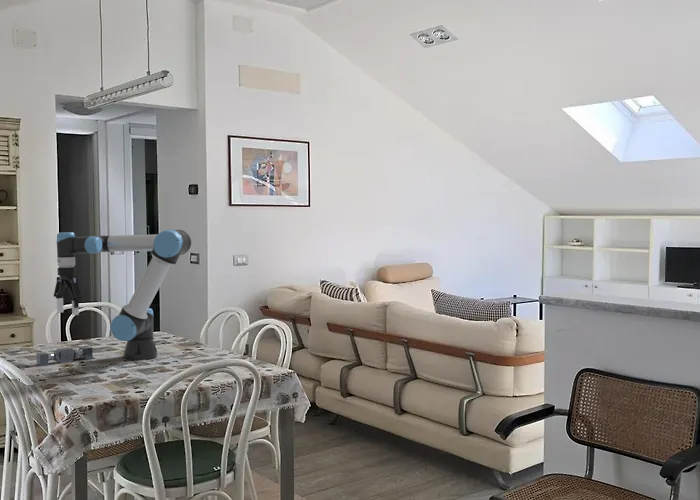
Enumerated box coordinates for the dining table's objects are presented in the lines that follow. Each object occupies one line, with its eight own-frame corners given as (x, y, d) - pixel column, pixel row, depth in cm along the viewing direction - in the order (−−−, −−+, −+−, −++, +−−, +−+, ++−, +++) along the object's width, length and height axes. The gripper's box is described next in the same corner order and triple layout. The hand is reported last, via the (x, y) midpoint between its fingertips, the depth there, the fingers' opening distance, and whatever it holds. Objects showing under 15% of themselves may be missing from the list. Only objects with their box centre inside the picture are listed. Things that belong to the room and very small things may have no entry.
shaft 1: (54, 362, 321) (54, 350, 321) (58, 363, 317) (58, 352, 317) (36, 364, 316) (36, 352, 316) (40, 366, 312) (39, 354, 312)
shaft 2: (85, 357, 333) (85, 346, 332) (92, 358, 330) (92, 347, 330) (70, 359, 326) (70, 348, 326) (77, 361, 323) (77, 350, 323)
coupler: (60, 363, 318) (60, 349, 318) (56, 362, 321) (56, 348, 321) (72, 361, 322) (72, 348, 322) (68, 360, 325) (68, 347, 325)
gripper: (44, 266, 328) (46, 312, 329) (72, 268, 312) (74, 316, 313) (60, 265, 334) (61, 310, 335) (88, 267, 317) (90, 315, 318)
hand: (67, 313), depth 324 cm, fingers open, 13 cm apart
